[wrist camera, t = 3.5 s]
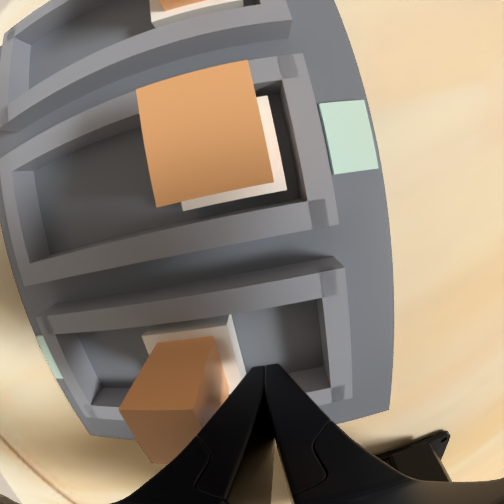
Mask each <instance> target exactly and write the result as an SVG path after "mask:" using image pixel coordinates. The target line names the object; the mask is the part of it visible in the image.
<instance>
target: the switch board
mask: <svg viewBox="0 0 504 504" xmlns="http://www.w3.org/2000/svg"><path fill="white" fill-rule="evenodd" d="M243 6H244V7H239V8H233V9H228V10H223V11H218V12H213V13H209V14H204V15H200V16H196V17H192V18H188V19H185V20H181V21H178V22H174V23H171V24H168V25H164V26H161V27H158V28H155V27H154V25H153V24H152V22H151V13H150V2H149V0H51V1H49V2H48V3H46V4H44V5H43V6H41V7H40V8H38V9H37V10H35V11H34V12H33V13H31V14H30V15H28V16H27V17H26V18H24V19H23V20H21V21H20V22H19V23H17V24H16V25H15V26H14V27H12V28H11V29H10V30H9V31H7V32H6V33H5V34H4V39H3V45H2V46H0V223H1V227H2V232H3V237H4V241H5V245H6V249H7V253H8V257H9V261H10V264H11V268H12V271H13V275H14V278H15V281H16V284H17V288H18V291H19V294H20V296H21V299H22V302H23V305H24V308H25V310H26V313H27V316H28V318H29V321H30V323H31V326H32V328H33V331H34V333H35V335H36V339H37V341H38V343H39V346H40V348H41V350H42V352H43V354H44V356H45V358H46V361H47V363H48V365H49V367H50V369H51V371H52V373H53V374H54V376H55V378H56V379H57V381H58V383H59V385H60V387H61V388H62V390H63V392H64V394H65V395H66V397H67V399H68V401H69V402H70V404H71V406H72V407H73V409H74V410H75V412H76V414H77V415H78V417H79V418H80V420H81V422H82V423H83V425H84V426H85V428H86V429H87V431H88V432H89V434H90V435H94V436H101V437H110V438H119V439H130V440H136V438H135V437H134V435H133V434H132V432H131V430H130V429H129V427H128V425H127V424H126V422H125V420H124V419H123V417H122V415H121V414H120V412H119V410H118V409H119V407H120V405H121V404H122V402H123V400H124V398H125V397H126V395H127V393H128V391H129V390H130V388H131V386H132V384H133V383H134V381H135V379H136V378H137V376H138V374H139V372H140V371H141V369H142V367H143V366H144V364H145V362H146V360H147V359H148V357H149V354H148V352H147V349H146V347H145V344H144V341H143V339H142V335H143V333H144V332H145V331H146V329H147V328H148V326H150V325H159V324H167V323H174V322H182V321H189V320H196V319H203V318H210V317H217V316H223V315H230V314H231V316H232V320H233V324H234V328H235V332H236V336H237V340H238V343H239V347H240V351H241V355H242V359H243V363H244V366H245V370H246V374H247V372H248V371H249V370H250V369H251V368H252V367H255V366H262V365H264V366H266V365H269V364H275V363H278V364H280V365H281V367H282V368H283V369H284V370H285V371H286V372H287V373H288V374H289V375H290V376H291V377H292V379H293V380H294V381H295V382H296V383H297V384H298V385H299V386H300V387H301V388H302V389H303V390H304V392H305V393H306V394H307V395H308V396H309V397H310V398H311V399H312V400H313V401H314V402H315V403H316V404H317V405H318V406H319V407H320V408H321V409H322V410H323V412H324V413H325V414H326V415H327V416H328V417H329V418H330V419H331V421H333V422H334V423H335V424H338V423H343V422H347V421H351V420H355V419H358V418H362V417H366V416H369V415H373V414H376V413H380V412H383V411H386V410H389V404H390V393H391V382H392V368H393V347H394V286H393V264H392V249H391V237H390V227H389V218H388V209H387V201H386V194H385V187H384V180H383V174H382V168H381V162H380V157H379V151H378V146H377V141H376V136H375V131H374V127H373V122H372V118H371V114H370V110H369V106H368V102H367V98H366V94H365V90H364V87H363V83H362V79H361V76H360V73H359V69H358V66H357V63H356V59H355V56H354V53H353V50H352V47H351V44H350V41H349V38H348V36H347V33H346V30H345V27H344V25H343V22H342V19H341V17H340V14H339V12H338V9H337V7H336V4H335V2H334V0H243ZM243 60H248V63H249V68H250V72H251V76H252V80H253V85H254V89H255V94H256V97H261V96H268V100H269V105H270V109H271V114H272V118H273V123H274V128H275V132H276V137H277V142H278V146H279V151H280V156H281V161H282V166H283V171H284V176H285V181H286V187H287V190H285V191H279V192H274V193H268V194H263V195H258V196H253V197H247V198H242V199H237V200H233V201H228V202H223V203H218V204H213V205H209V206H204V207H200V208H195V209H191V210H186V211H183V209H182V204H181V202H178V203H174V204H170V205H165V206H161V207H156V202H155V198H154V193H153V188H152V183H151V178H150V173H149V168H148V163H147V157H146V152H145V146H144V140H143V134H142V128H141V122H140V115H139V108H138V101H137V93H136V89H138V88H141V87H144V86H147V85H150V84H153V83H156V82H159V81H162V80H166V79H169V78H172V77H176V76H179V75H183V74H186V73H190V72H194V71H198V70H202V69H206V68H210V67H214V66H219V65H223V64H228V63H233V62H238V61H243ZM229 395H230V394H228V397H229Z"/></svg>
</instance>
